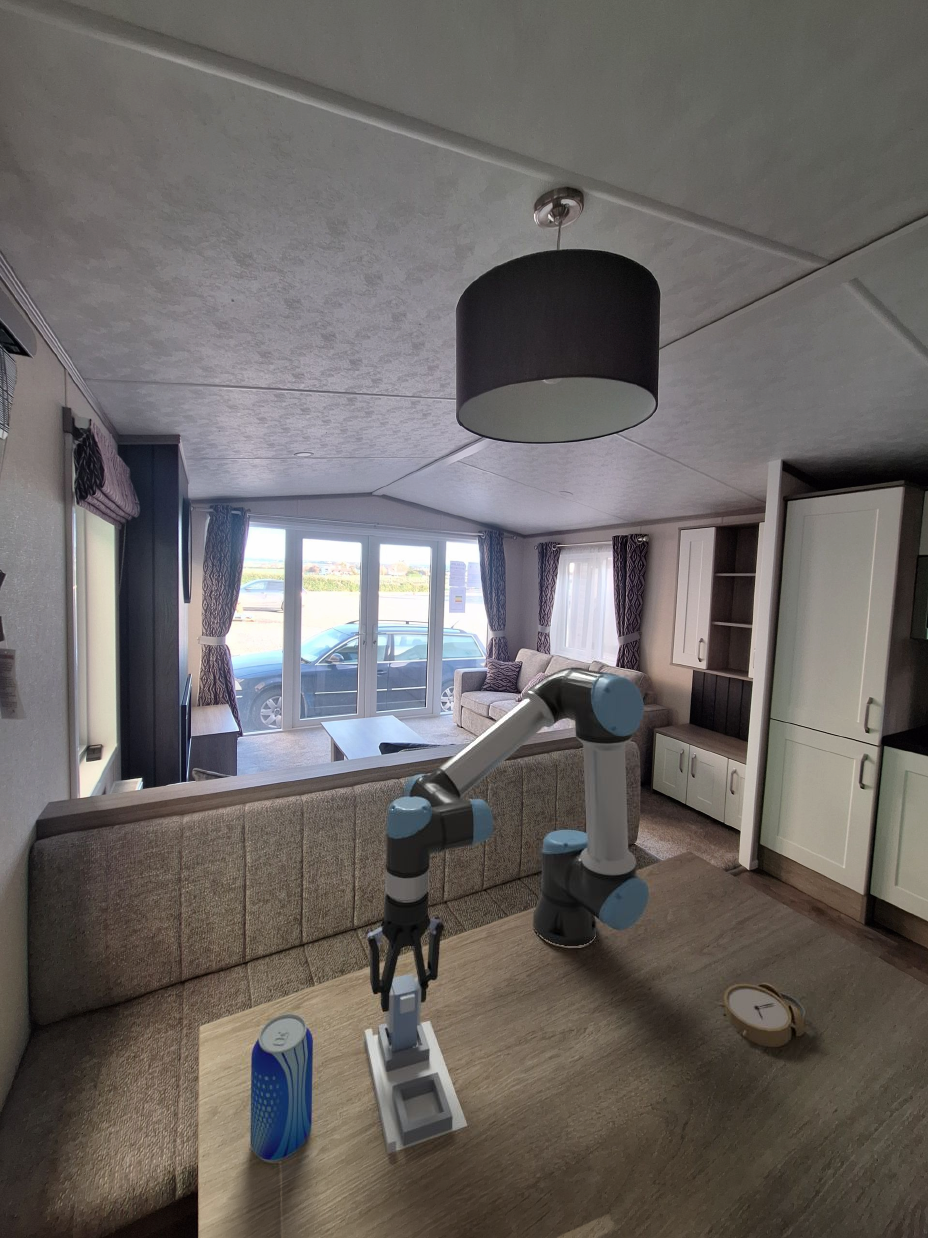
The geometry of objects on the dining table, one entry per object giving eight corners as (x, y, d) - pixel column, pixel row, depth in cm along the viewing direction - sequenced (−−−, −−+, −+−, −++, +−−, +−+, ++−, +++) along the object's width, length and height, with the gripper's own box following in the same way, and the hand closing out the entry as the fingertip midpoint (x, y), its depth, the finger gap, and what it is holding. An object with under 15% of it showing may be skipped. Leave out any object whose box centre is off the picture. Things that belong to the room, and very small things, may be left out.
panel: (429, 1026, 95) (429, 1010, 95) (467, 1132, 76) (467, 1113, 76) (364, 1043, 91) (364, 1027, 91) (387, 1160, 72) (388, 1140, 72)
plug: (410, 1028, 92) (412, 973, 91) (417, 1051, 87) (419, 993, 87) (388, 1034, 90) (390, 978, 90) (394, 1057, 86) (396, 999, 85)
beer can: (239, 1140, 74) (240, 1033, 74) (291, 1098, 81) (293, 999, 80) (269, 1184, 69) (270, 1069, 68) (322, 1135, 75) (324, 1030, 75)
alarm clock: (709, 989, 103) (775, 969, 105) (712, 1012, 103) (778, 992, 105) (750, 1037, 92) (822, 1013, 94) (753, 1062, 92) (825, 1038, 94)
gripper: (447, 872, 95) (443, 995, 96) (353, 887, 89) (350, 1018, 90) (460, 894, 88) (456, 1027, 88) (360, 912, 82) (356, 1054, 83)
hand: (402, 1022), depth 89 cm, fingers closed on plug, 4 cm apart
